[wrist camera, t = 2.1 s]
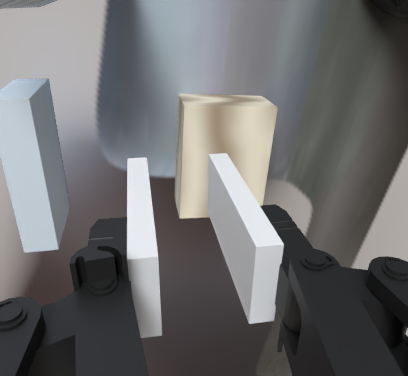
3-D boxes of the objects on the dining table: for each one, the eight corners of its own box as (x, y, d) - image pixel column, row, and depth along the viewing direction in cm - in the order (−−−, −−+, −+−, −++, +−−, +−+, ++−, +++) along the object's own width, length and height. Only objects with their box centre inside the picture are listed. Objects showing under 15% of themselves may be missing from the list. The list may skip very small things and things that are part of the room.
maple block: (261, 95, 40) (277, 107, 36) (248, 194, 46) (261, 215, 41) (178, 93, 39) (184, 105, 34) (174, 196, 44) (179, 218, 40)
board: (48, 78, 36) (29, 98, 29) (70, 207, 42) (58, 249, 35) (14, 79, 35) (-14, 99, 28) (41, 209, 42) (24, 252, 34)
